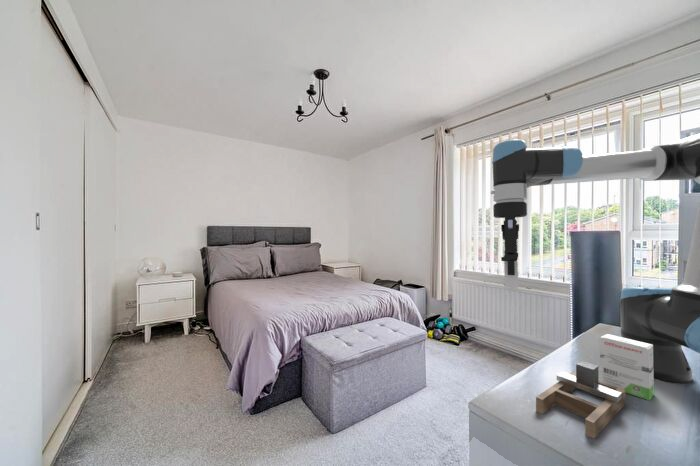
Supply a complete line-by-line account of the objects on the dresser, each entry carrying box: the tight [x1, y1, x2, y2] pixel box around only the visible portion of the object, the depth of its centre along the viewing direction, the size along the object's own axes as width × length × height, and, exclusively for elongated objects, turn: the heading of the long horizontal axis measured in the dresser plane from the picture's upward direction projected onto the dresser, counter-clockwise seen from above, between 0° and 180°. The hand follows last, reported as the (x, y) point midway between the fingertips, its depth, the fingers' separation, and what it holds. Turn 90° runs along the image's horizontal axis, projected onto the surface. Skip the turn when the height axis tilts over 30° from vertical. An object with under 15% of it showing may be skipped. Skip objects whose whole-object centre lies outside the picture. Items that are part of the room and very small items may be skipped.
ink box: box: [599, 333, 655, 401], centre depth 66 cm, size 9×5×12 cm, turn 33°
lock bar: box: [556, 360, 622, 403], centre depth 61 cm, size 3×10×5 cm, turn 33°
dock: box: [535, 371, 627, 439], centre depth 59 cm, size 20×9×3 cm, turn 123°
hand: (510, 284), depth 72 cm, fingers open, 13 cm apart
